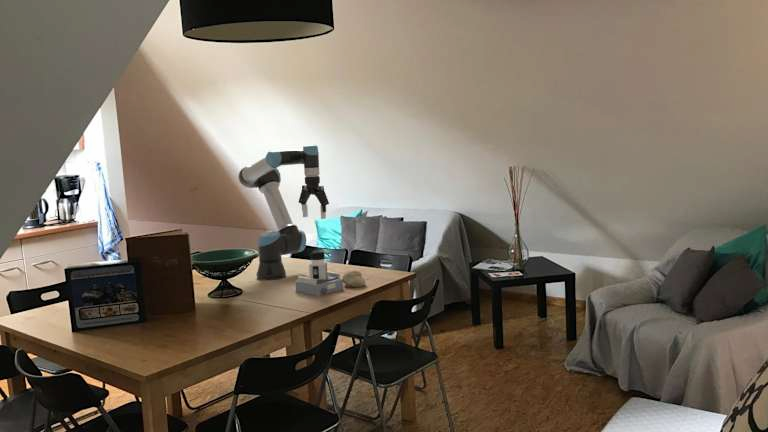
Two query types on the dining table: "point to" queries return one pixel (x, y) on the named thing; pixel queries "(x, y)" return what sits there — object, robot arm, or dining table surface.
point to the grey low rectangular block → (319, 284)
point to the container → (318, 266)
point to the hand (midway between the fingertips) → (314, 217)
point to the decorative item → (353, 279)
